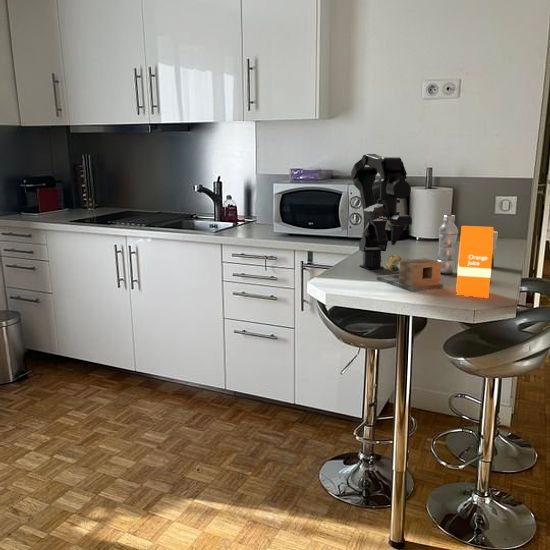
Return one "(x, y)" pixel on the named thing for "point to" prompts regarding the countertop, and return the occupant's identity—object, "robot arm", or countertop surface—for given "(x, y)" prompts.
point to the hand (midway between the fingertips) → (386, 243)
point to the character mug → (494, 244)
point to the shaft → (394, 263)
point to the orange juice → (475, 261)
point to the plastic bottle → (447, 244)
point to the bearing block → (416, 275)
